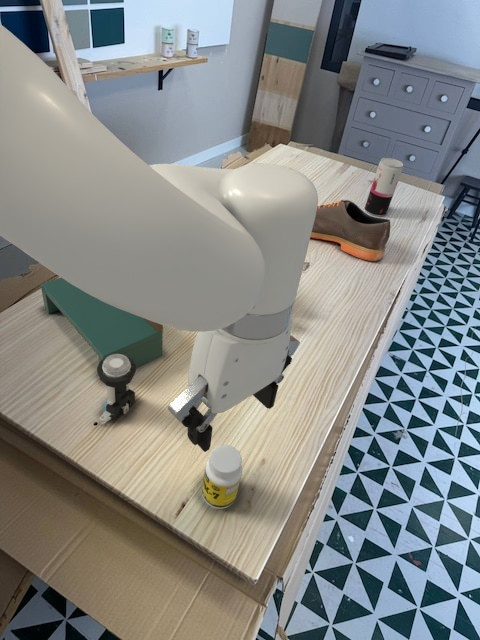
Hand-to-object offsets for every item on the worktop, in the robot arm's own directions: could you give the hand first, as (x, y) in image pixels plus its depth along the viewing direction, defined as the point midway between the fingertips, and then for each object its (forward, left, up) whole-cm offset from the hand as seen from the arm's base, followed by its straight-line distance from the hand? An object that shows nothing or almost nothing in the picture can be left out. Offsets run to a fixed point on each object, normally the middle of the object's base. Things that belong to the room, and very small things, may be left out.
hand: (231, 420), depth 54 cm
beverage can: (+94, +41, -16) cm, 103 cm away
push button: (-4, +20, -16) cm, 25 cm away
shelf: (+3, +37, -15) cm, 40 cm away
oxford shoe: (+69, +39, -16) cm, 80 cm away
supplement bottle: (0, 0, -16) cm, 16 cm away
